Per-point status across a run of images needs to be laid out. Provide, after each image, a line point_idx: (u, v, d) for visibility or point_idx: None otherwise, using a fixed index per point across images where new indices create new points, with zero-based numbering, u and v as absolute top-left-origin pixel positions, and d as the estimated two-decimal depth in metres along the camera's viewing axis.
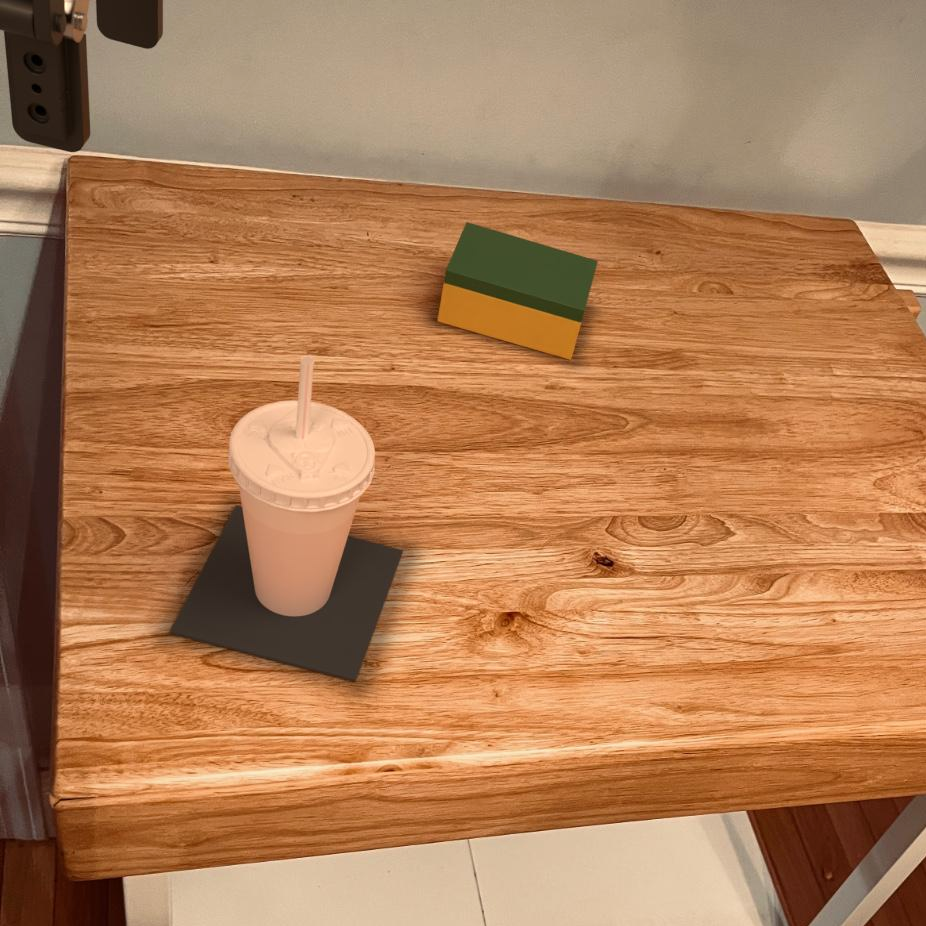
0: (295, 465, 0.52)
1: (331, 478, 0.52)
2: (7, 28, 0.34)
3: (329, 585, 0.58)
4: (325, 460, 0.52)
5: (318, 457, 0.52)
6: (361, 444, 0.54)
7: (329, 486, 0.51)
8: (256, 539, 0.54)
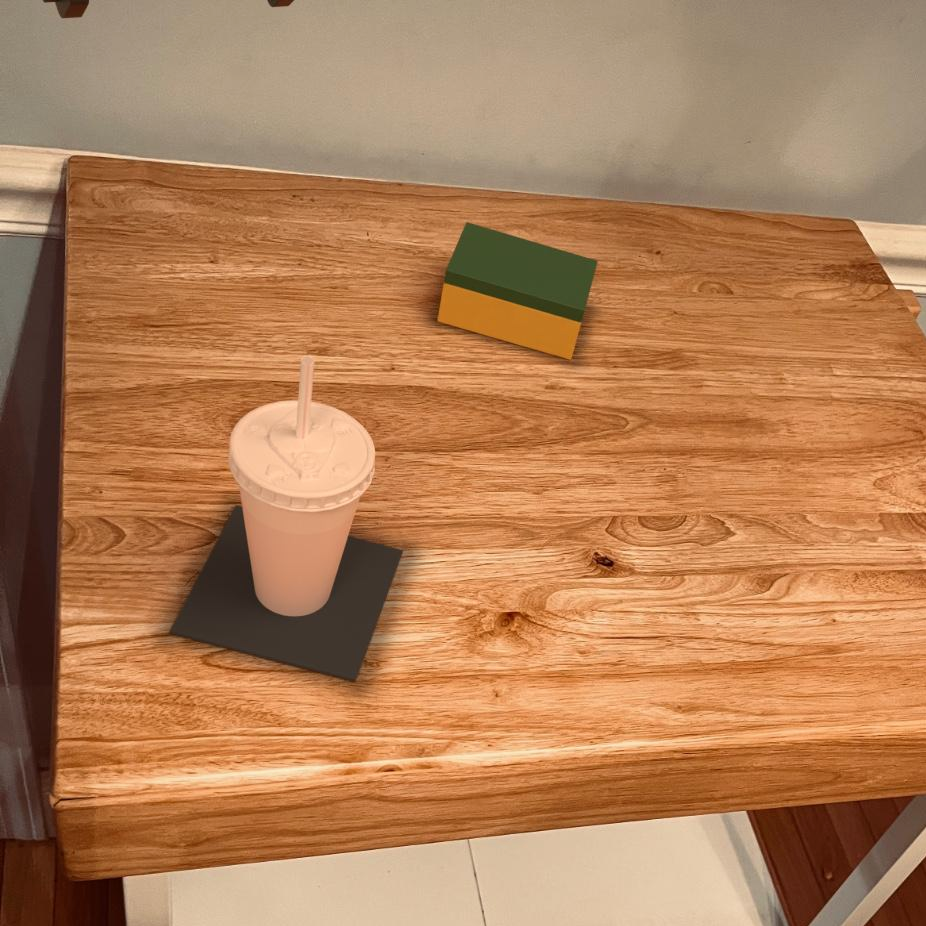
0: (295, 465, 0.52)
1: (331, 478, 0.52)
2: None
3: (329, 585, 0.58)
4: (325, 460, 0.52)
5: (318, 457, 0.52)
6: (361, 444, 0.54)
7: (329, 486, 0.51)
8: (256, 539, 0.54)
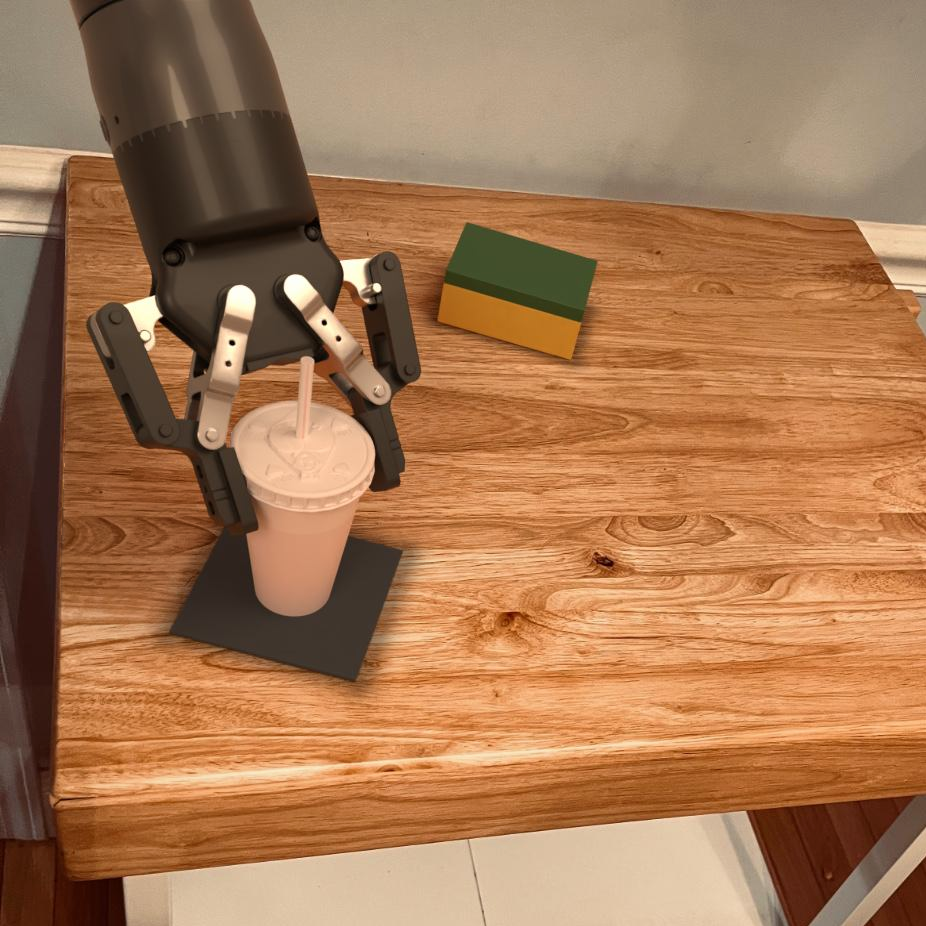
0: (295, 465, 0.52)
1: (331, 478, 0.52)
2: None
3: (329, 585, 0.58)
4: (325, 460, 0.52)
5: (318, 457, 0.52)
6: (361, 444, 0.54)
7: (329, 486, 0.51)
8: (256, 540, 0.54)
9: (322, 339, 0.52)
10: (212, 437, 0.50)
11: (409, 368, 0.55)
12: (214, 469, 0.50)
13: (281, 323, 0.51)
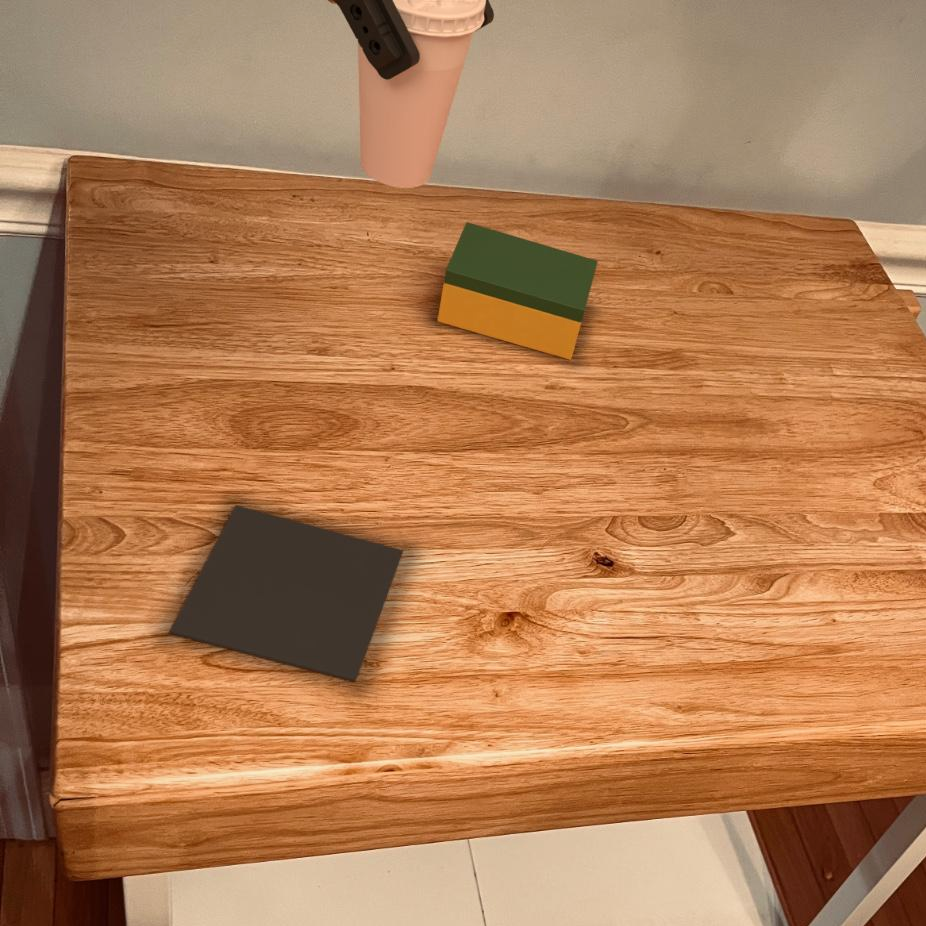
0: None
1: (462, 3, 0.56)
2: None
3: None
4: None
5: None
6: None
7: (466, 8, 0.56)
8: (392, 94, 0.58)
9: None
10: None
11: None
12: (372, 4, 0.53)
13: None
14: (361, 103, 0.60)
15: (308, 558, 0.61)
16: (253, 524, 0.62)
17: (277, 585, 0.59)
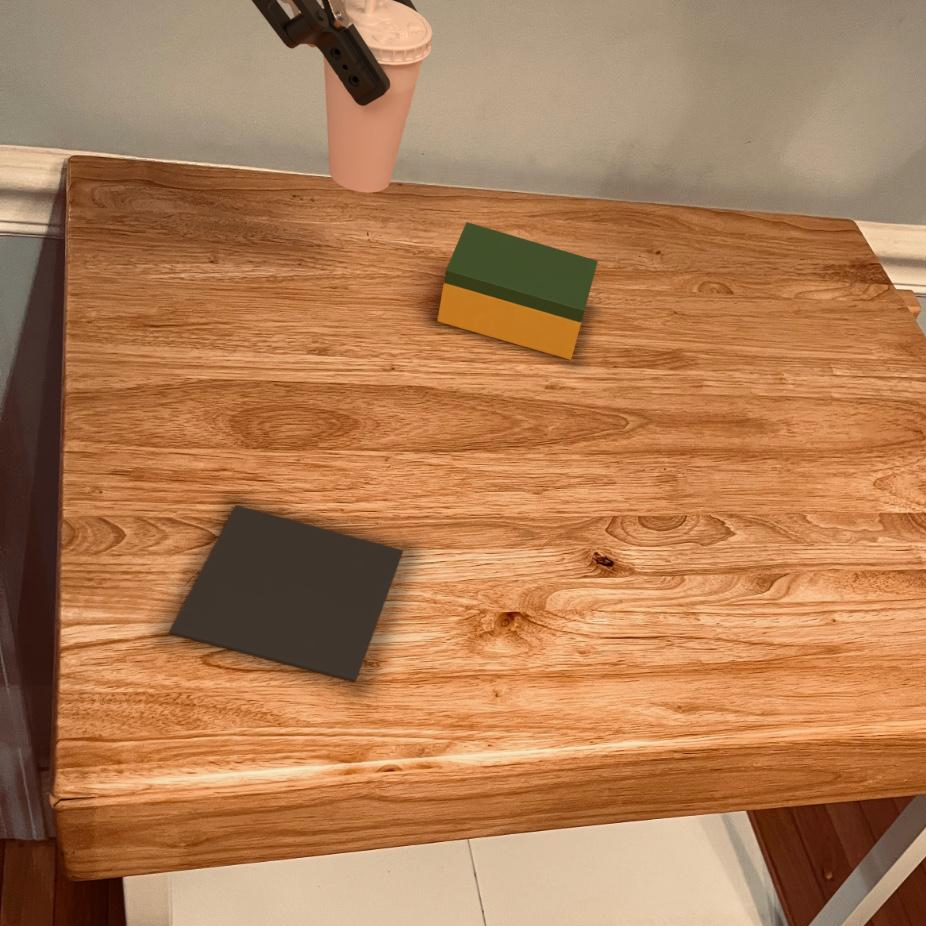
0: (388, 30, 0.66)
1: (414, 33, 0.67)
2: None
3: None
4: (399, 24, 0.67)
5: (395, 22, 0.66)
6: (404, 10, 0.68)
7: (419, 37, 0.66)
8: (363, 116, 0.68)
9: None
10: (343, 16, 0.63)
11: None
12: (349, 45, 0.63)
13: None
14: (331, 125, 0.70)
15: (308, 558, 0.61)
16: (253, 524, 0.62)
17: (277, 585, 0.59)
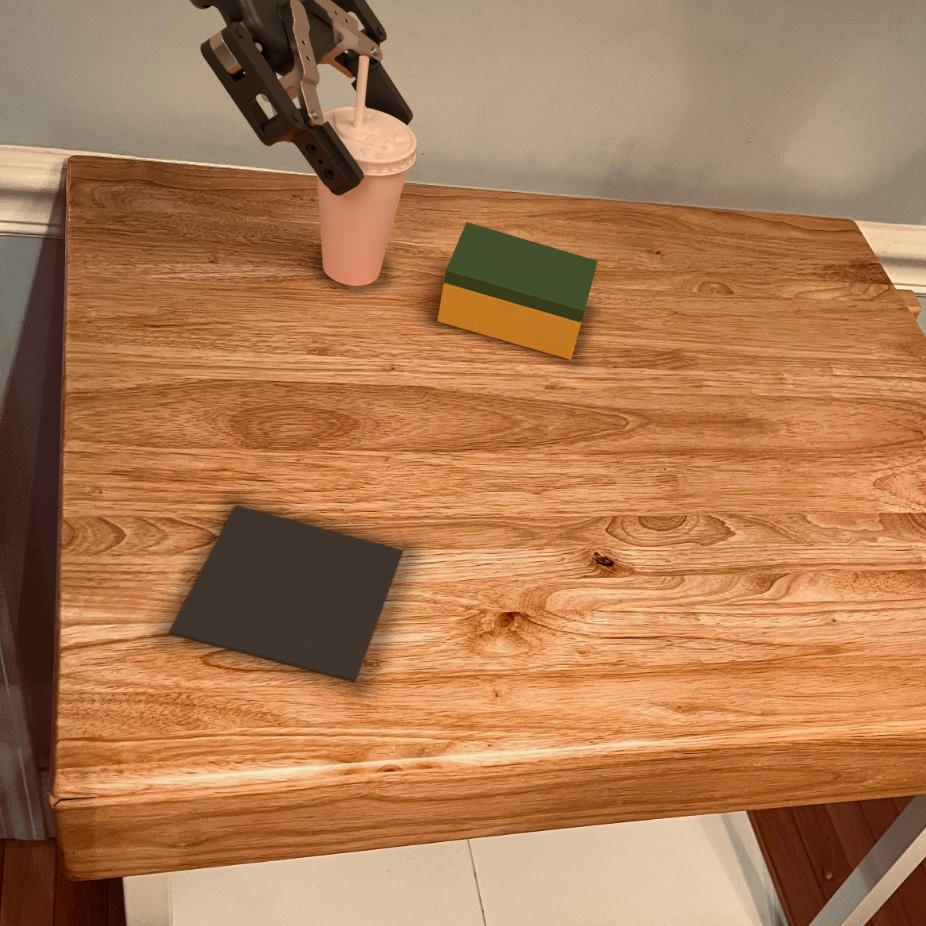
0: (376, 143, 0.71)
1: (400, 144, 0.72)
2: None
3: None
4: (386, 135, 0.72)
5: (382, 135, 0.71)
6: (391, 121, 0.73)
7: (405, 149, 0.71)
8: (353, 220, 0.73)
9: (341, 25, 0.69)
10: (317, 115, 0.66)
11: (381, 29, 0.73)
12: (324, 141, 0.67)
13: (313, 25, 0.68)
14: (324, 226, 0.75)
15: (308, 558, 0.61)
16: (253, 524, 0.62)
17: (277, 585, 0.59)
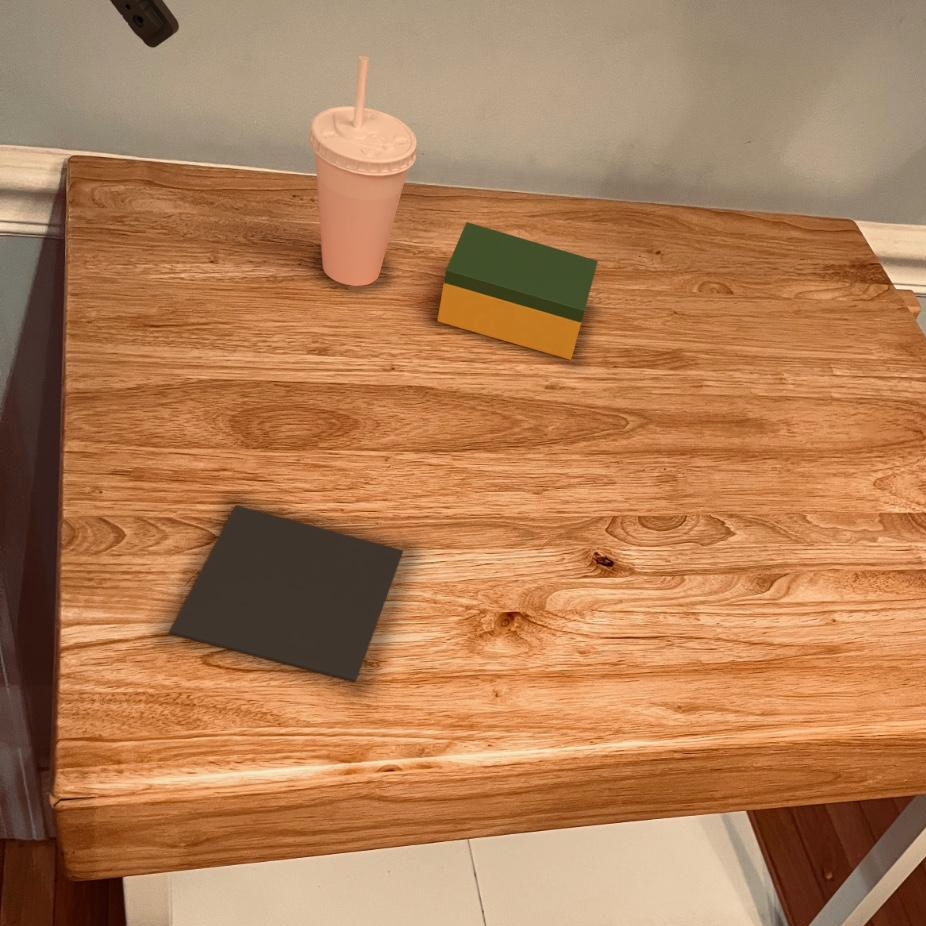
0: (375, 143, 0.71)
1: (400, 144, 0.72)
2: None
3: None
4: (385, 135, 0.72)
5: (381, 134, 0.71)
6: (391, 121, 0.73)
7: (405, 149, 0.71)
8: (353, 220, 0.73)
9: None
10: None
11: None
12: None
13: None
14: (324, 226, 0.75)
15: (308, 558, 0.61)
16: (253, 524, 0.62)
17: (277, 585, 0.59)
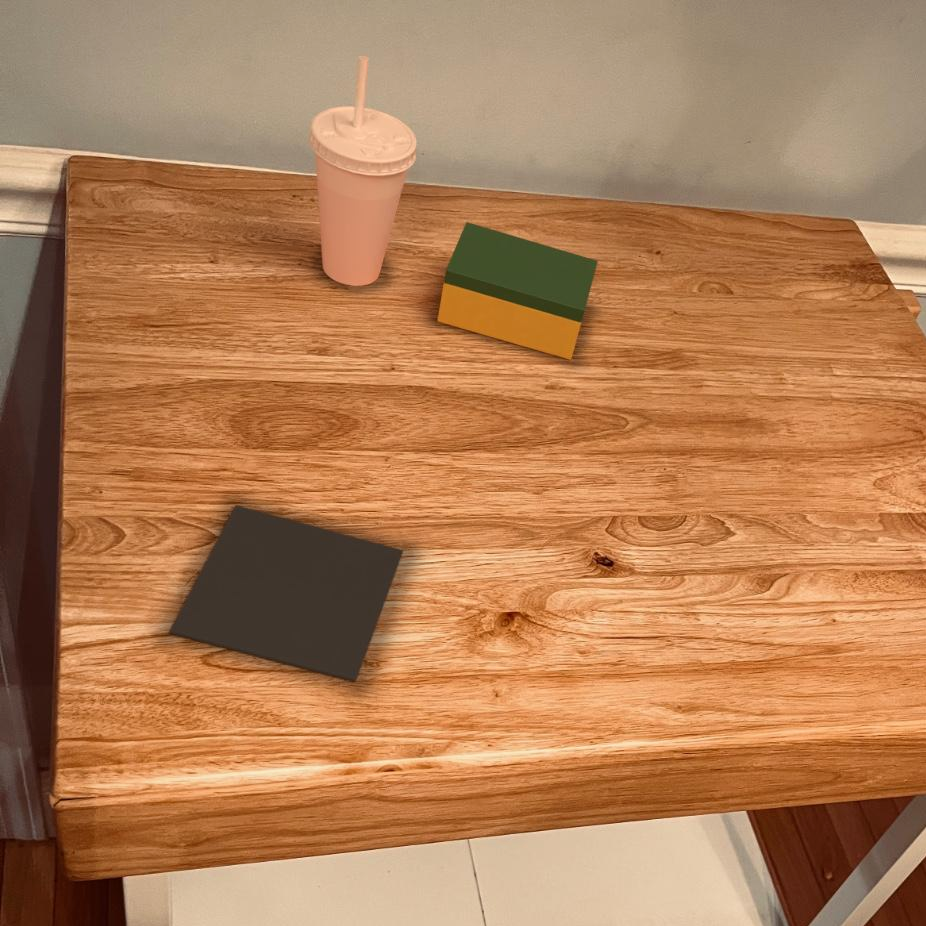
0: (375, 143, 0.71)
1: (400, 144, 0.72)
2: None
3: None
4: (385, 135, 0.72)
5: (381, 134, 0.71)
6: (391, 121, 0.73)
7: (405, 149, 0.71)
8: (353, 220, 0.73)
9: None
10: None
11: None
12: None
13: None
14: (324, 226, 0.75)
15: (308, 558, 0.61)
16: (253, 524, 0.62)
17: (277, 585, 0.59)
